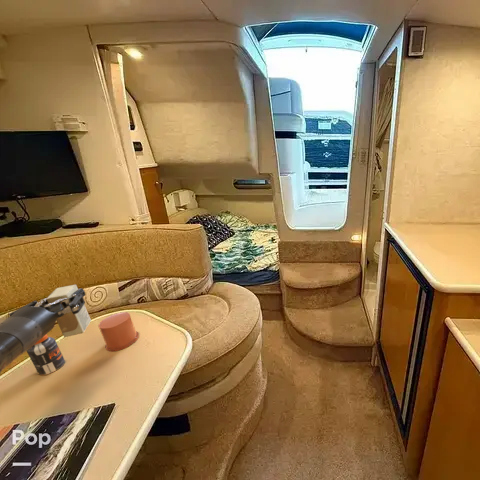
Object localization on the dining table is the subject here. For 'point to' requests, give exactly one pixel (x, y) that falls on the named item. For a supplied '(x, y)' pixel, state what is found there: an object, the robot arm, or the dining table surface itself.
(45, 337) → the pill bottle
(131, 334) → the upturned cup
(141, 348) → the dining table surface
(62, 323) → the cosmetic box
